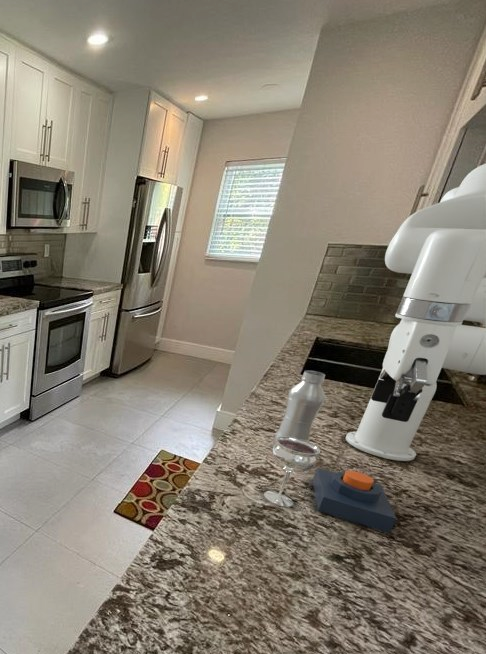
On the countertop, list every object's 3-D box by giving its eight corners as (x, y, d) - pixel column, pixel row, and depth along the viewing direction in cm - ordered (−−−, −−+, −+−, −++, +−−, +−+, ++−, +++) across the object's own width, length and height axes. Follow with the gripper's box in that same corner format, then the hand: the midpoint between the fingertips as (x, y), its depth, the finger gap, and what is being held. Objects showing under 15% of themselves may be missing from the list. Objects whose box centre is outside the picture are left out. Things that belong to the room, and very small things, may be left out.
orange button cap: (340, 475, 80) (344, 468, 79) (367, 483, 78) (371, 475, 77) (343, 485, 77) (347, 477, 76) (372, 493, 74) (375, 485, 74)
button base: (312, 480, 86) (320, 460, 84) (375, 498, 81) (384, 476, 79) (317, 511, 77) (326, 488, 75) (389, 533, 71) (401, 509, 70)
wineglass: (262, 504, 78) (281, 449, 73) (254, 485, 84) (271, 433, 79) (304, 514, 76) (326, 458, 71) (293, 493, 81) (313, 440, 77)
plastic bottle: (310, 461, 93) (341, 379, 86) (277, 457, 94) (305, 376, 87) (296, 447, 99) (323, 370, 92) (265, 444, 100) (290, 367, 93)
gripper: (487, 324, 57) (433, 435, 63) (445, 307, 70) (403, 399, 77) (413, 316, 60) (369, 422, 67) (386, 301, 74) (351, 390, 80)
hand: (387, 409), depth 72 cm, fingers open, 8 cm apart
